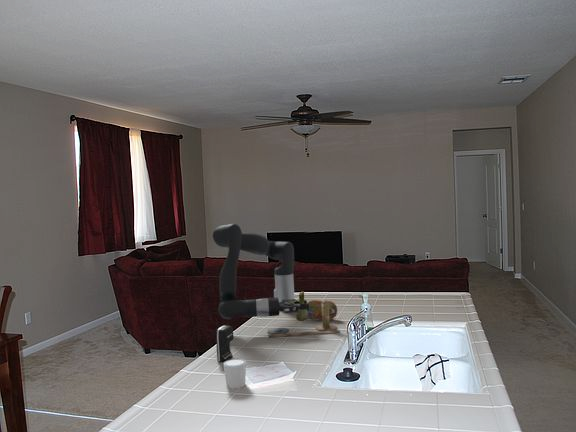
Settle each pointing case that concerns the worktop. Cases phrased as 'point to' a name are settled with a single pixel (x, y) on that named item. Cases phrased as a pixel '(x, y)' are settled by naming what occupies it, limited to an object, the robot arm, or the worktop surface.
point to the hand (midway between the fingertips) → (307, 304)
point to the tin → (320, 310)
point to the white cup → (235, 373)
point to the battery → (224, 342)
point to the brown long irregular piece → (321, 329)
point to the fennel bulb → (302, 314)
